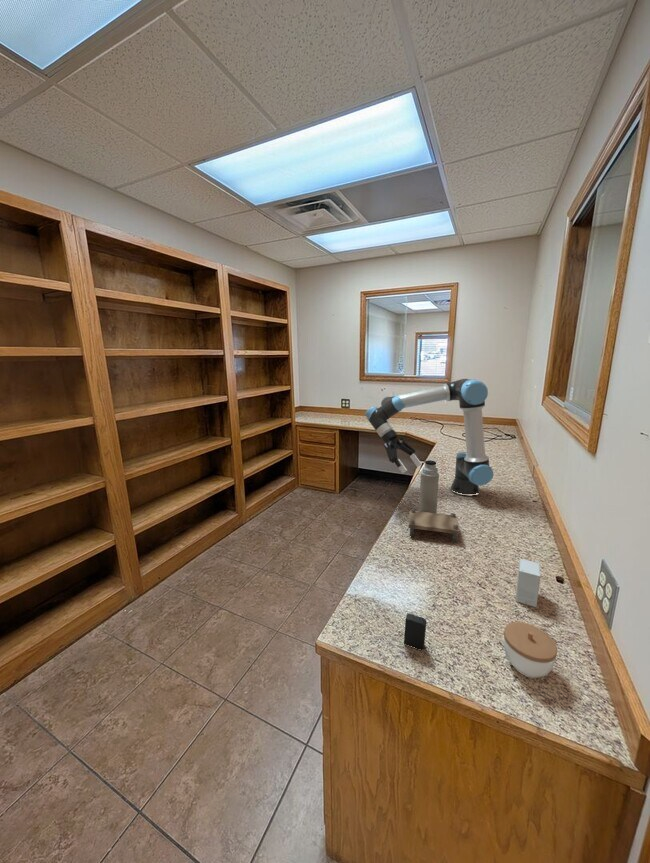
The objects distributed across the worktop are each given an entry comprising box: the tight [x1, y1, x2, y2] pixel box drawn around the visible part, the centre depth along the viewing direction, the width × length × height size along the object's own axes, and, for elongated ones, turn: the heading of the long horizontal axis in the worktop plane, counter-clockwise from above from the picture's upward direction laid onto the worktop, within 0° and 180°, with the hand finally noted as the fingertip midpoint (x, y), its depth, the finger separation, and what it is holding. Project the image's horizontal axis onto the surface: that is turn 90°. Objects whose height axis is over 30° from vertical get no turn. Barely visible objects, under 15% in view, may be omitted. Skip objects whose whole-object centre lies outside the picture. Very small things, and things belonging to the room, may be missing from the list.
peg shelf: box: [408, 508, 461, 544], centre depth 141 cm, size 20×14×7 cm
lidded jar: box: [503, 621, 558, 679], centre depth 78 cm, size 11×11×9 cm
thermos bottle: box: [418, 459, 440, 514], centre depth 152 cm, size 8×8×28 cm
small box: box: [515, 558, 542, 608], centre depth 101 cm, size 8×6×10 cm
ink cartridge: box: [403, 612, 427, 651], centre depth 84 cm, size 5×2×8 cm, turn 65°
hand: (412, 468), depth 156 cm, fingers open, 13 cm apart
